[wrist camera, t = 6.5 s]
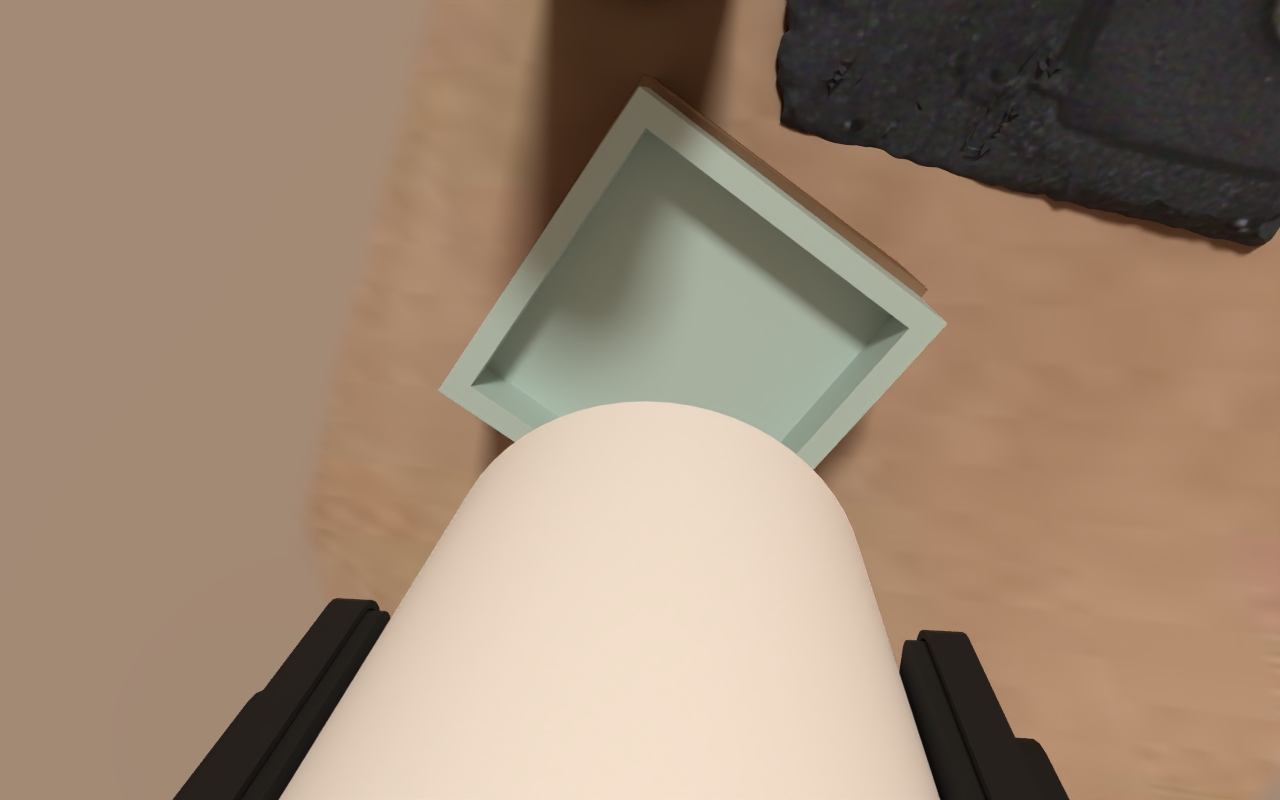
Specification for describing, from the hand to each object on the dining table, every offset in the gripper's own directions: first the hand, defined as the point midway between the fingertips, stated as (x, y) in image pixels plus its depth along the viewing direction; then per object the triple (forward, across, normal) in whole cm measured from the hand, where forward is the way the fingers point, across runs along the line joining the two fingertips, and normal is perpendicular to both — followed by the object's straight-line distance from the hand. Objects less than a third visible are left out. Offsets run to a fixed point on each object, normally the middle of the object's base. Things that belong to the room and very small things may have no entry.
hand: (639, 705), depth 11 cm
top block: (+19, 0, 0) cm, 19 cm away
